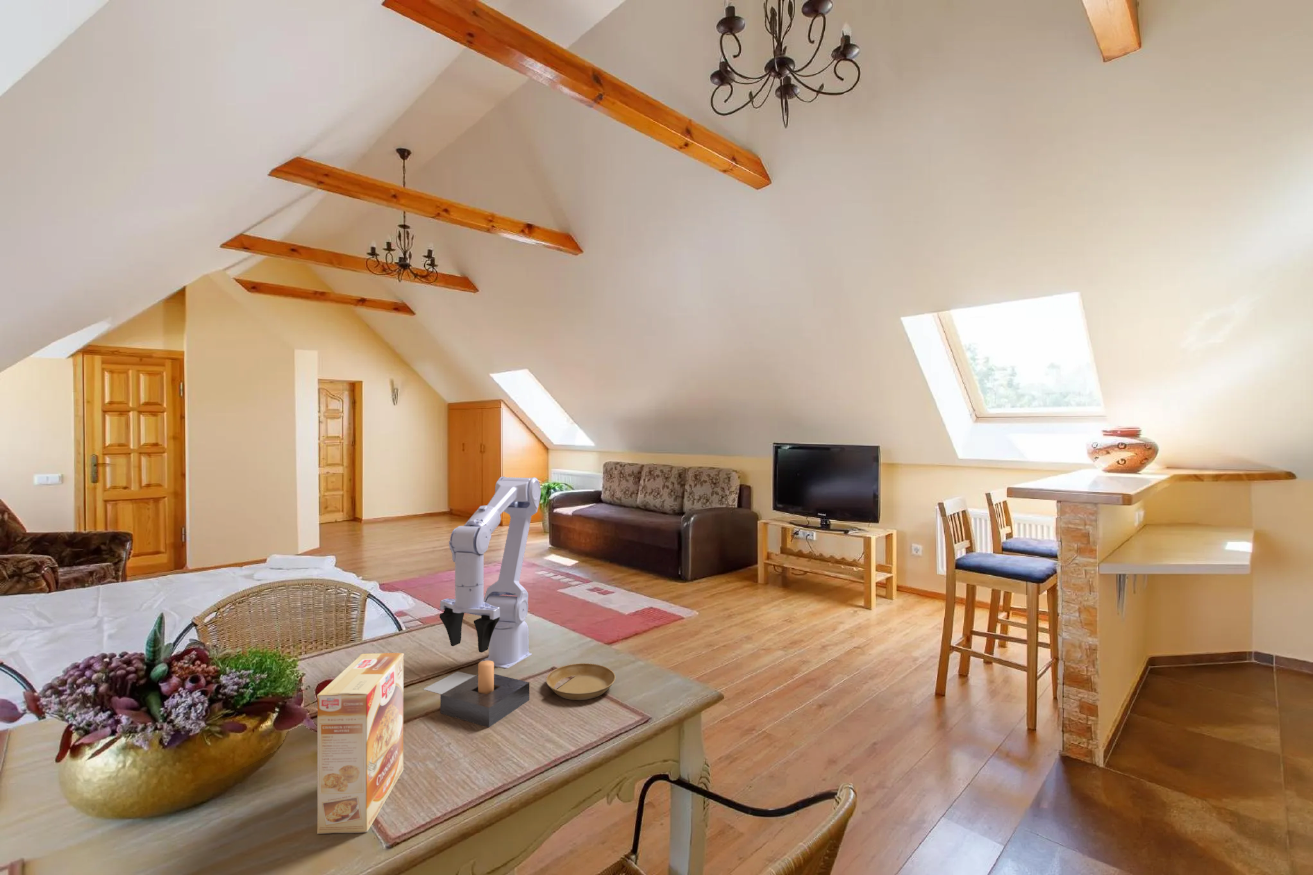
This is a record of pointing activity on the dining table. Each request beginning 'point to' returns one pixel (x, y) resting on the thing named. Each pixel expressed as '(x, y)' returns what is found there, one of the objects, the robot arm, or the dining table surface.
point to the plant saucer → (581, 681)
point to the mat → (449, 682)
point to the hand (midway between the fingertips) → (469, 647)
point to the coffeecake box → (359, 742)
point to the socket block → (484, 700)
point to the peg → (486, 677)
